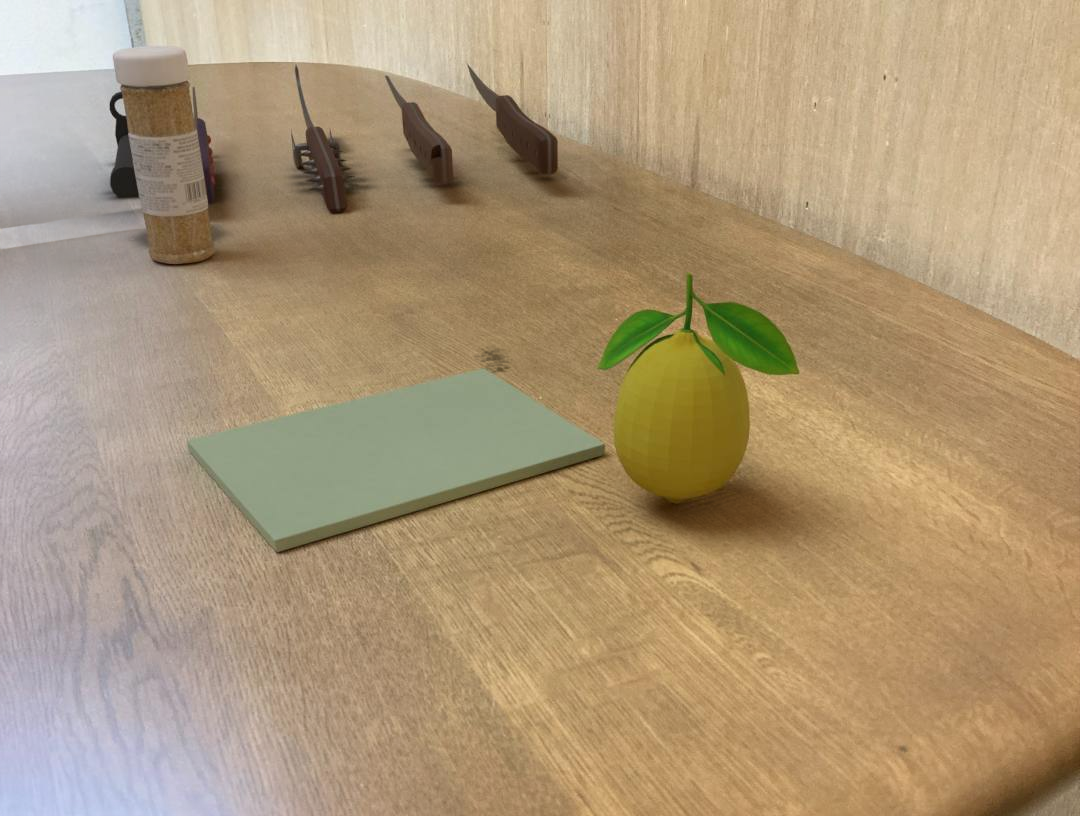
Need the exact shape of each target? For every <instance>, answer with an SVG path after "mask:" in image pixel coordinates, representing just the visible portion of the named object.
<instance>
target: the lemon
mask: <svg viewBox="0 0 1080 816" xmlns="http://www.w3.org/2000/svg"><path fill="white" fill-rule="evenodd" d="M693 281H694V277H693V275H692V274H691V273H686V303H685V305H686V306H685V309H684V310H683V311H682V312H680V313H677V314H675V315H674V314H671V313H667V312H663V311H659V310H656V309H642V310H639V311H636V312H634V313H632V314H630V315H629V316H628V317H627V318H626V319H625V320H624V321H623V322H622V323H621V324H619V325H618V327H617V329H616V330H615V331H614V333H613V334H612V335H611V337H610V339H609V341H608V343H607V344H606V347H605V349H604V351H603V354H602V356H601V359H600V361H599V363H598V366H597V369H598V370H604V371H605V370H609V369H611V368H613V367H616V366H617V365H619V364H620V363H622V362H624V361H625V360H626V359H627V358H629V357H631V356H632V355H633V354H634V353H636V352H637V351H639V350H641V348H643V347H644V346H645V347H644V348H643V349H642V350H641V351H640V352H639V353H638V354H637V356H636V357H635V359H634V360H633V361H632V363H631V364H630V366H629V368H628V369H627V371H626V373H625V375H624V377H623V379H622V383H621V385H620V388H619V392H618V396H617V401H616V408H615V413H614V421H613V441H614V442H613V444H614V447H615V453H616V456H617V458H618V460H619V462H620V464H621V466H622V468H623V470H624V471H625V473H626V474H627V476H628V477H629V478H630V480H631V481H632V482H633V483H634V484H636V485H637V486H639V487H640V488H641V489H643V490H645V491H647V492H649V493H650V494H654V495H656V496H658V497H662V498H665V500H666V501H667V502H669V503H671V504H677V505H679V504H681V503H683V502H684V501H686V500H687V499H688V500H689V499H695V498H699V497H702V496H705V495H708V494H711V493H713V492H715V491H717V490H719V489H720V488H722V487H724V486H725V485H726V484H727V483H728V482H729V481H730V480H731V479H732V477H733V476H734V475H735V473H736V471H737V470H738V468H739V466H740V465H741V463H742V462H743V458H744V457H745V453H746V451H747V447H748V443H749V438H750V430H751V429H750V427H751V422H750V419H751V418H750V404H749V403H750V402H749V395H748V390H747V385H746V382H745V378H744V377H743V374H742V372H741V370H740V368H739V366H738V364H739V365H741V366H743V367H744V368H747V369H749V370H750V369H751V370H752V371H756V372H758V373H762V374H765V375H768V376H769V375H770V376H771V375H772V376H785V375H800V370H799V368H798V363H797V360H796V356H795V354H794V352H793V350H792V347H791V346H790V343H789V342H788V340H787V338H786V336H785V335H784V334H783V333H782V331H781V329H780V328H778V326H777V325H776V324H775V323H773V321H771V320H770V319H769V318H768V317H767V316H766V315H765V314H763V312H761V311H758V310H756V309H754V308H752V307H750V306H748V305H745V304H742V303H738V302H733V301H725V302H712V303H711V302H709V303H708V302H704V301H703V300H701V299H700V298H699V297H698V296H697V295H696V293H695V292H694V289H693V288H694V287H693ZM694 300H695V301H696V302H697V303H698V304H699V305H700V306H701V307H702V310H703V314H704V317H705V322H706V326H707V329H708V333H709V334H710V336H711V338H708V337H705V336H702V335H700V334H699V333H698V331H697V330H695V329H693V328H691V324H692V316H693V301H694ZM683 316H685V318H684V324H683V327H681V328H679V329H677V330H676V332H675V333H672V334H667V335H663V336H660V337H658V336H659V335H660V334H661V333H662V332H664V331H665V330H666V329H667V328H668V327H670V325H671V324H672V323H673V322H675V321H677V320H678V319H680V318H681V317H683ZM656 337H657V338H656ZM651 341H652V342H651ZM647 344H648V345H647Z"/></svg>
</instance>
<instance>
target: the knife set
mask: <svg viewBox="0 0 1080 816" xmlns="http://www.w3.org/2000/svg"><path fill="white" fill-rule="evenodd" d="M466 65H467V68H468V72H469V75H470V77H471V80H472V82H473V84H474V86H475V89H476V90H477V91H478V93H479V95H480V96H481V98H482V99H483V100H484V102H485V103H486V104H487V106H488V107H489V108H490V109H492V111H494V112H495V120H496V121H495V124H496V128H497V130H498V131H499V132H500V134H501V135H502V137H503V139H504V140H505V142H506V144H507V145H508V146H509V147H510V148H511V149H512V150H513V151H514V152H515V153H516V154H518V155H519V156H520V158H522V159H524V160H526V161H527V162H528V163H529V164H530V165H532V166H533V167H534V168H535V169H536V170H537V171H538V172H539V173H540V174H542V175H544V176H549V175H554V174H555V173H557V171H558V169H559V141H558V138H557V137H556V136H555V135H554V134H553V133H552V132H551V131H550V130H548V129H547V128H546V127H544V126H542V125H540V124H539V123H537V122H535V121H534V120H532V119H531V118H530V117H529V116H528V115H527V114H525V113H524V112H523V110H522V109H521V108H520V106H519V105H518V104H517V102H516V100H515V99H514V98H513V97H512V96H511V95H508V94H506V95H505V94H504V95H499V94H498V93H496V92H495V91H494V90H492V89H491V88H490V87H489V86H487V85H486V84H485V83H484V82H483V80H482V79H480V78H479V76H478V75H477V74H476V73H475V71H474V70H473V69H472V67H471V66H470V65H469V64H468V63H466ZM294 66H295V67H294V75H295V80H296V87H297V93H298V95H299V96H298V97H299V101H300V106H301V109H302V110H301V111H302V115H303V118H304V122H305V126H306V130H305V139H306V141H305V142H303V143H298V144H296V143H295V139H294V136H293V132H292V130H290V132H291V133H290V137H291V138H290V139H291V146H292V147H291V148H292V160H293V163H294V165H295V167H296V168H298V169H299V168H301V167H302V166H307V167H311V169H309V170H306V171H303V172H302V174H306V175H313V176H314V177H312V178H308V179H306V180H305V182H308V183H309V182H310V183H316V184H317V185H316V186H313V187H311V188H307V190H308V191H313V192H314V191H315V192H319V193H321V195H322V198H323V202H324V203H325V206H326V208H327V210H328V211H329V212H330V213H333V214H335V213H343V212H345V211H346V210H347V209H348V205H349V204H348V199H347V192H346V191H347V190H350V189H353V188H355V187H358V186H359V184H356V183H350V182H349V183H348V182H345V181H347V180H349V179H352V178H355V177H356V176H355V175H349V174H343V173H344V172H346V171H350V170H352V168H350V167H343V166H340V165H339V164H340V163H343V162H347V159H343V158H341V153H342V152H343V150H341V146H340V144H339V143H338V142H337V141H335V140H333V136H332V131H331V129H329V140H328V137H327V135H326V133H325V130H324V129H323V128H322V127H320V126H314V124H313V121H312V119H311V117H310V114H309V111H308V108H307V105H306V101H305V97H304V94H303V89H302V85H301V79H300V72H299V68H298V66H297V64H295V65H294ZM384 78H385V80H386V82H387V85H388V87H389V89H390V91H391V93H392V96H393V98H394V99H395V102H396V103H397V105H398V107H399V109H401V123H402V134H403V135H404V138H405V140H406V142H407V145H408V147H409V149H410V151H411V152H412V155H413V156H414V157H415V158H416V160H417V161H418V162H419V164H420V165H421V166H422V167H423V168H424V169H425V170H426V171H427V172H428V173H429V175H430V176H431V177H432V179H433V180H434V182H435V183H436V184H438V185H448V184H450V183H451V182H453V180H454V166H453V165H454V164H453V149H452V147H451V146H450V145H449V143H448V141H447V140H446V139H445V138H444V137H443V136H442V135H441V134H440V133H438V131H436V130H435V129H434V128H433V126H432V125H431V124H430V123H429V122H428V121H427V119H426V117H425V115H424V113H423V112H422V110H421V108H420V106H419V104H418V103H417V102H415V101H412V102H411V101H410V102H409V101H408V102H407V101H406V99H404V98H403V97H404V96H402V95H401V94H400V92H399V91H398V90H397V88H396V86H395V85H394V83H393V82H392V80H391V78H390V77H389V75H384ZM191 89H192V108H193V116H194V122H195V128H196V129H197V134H198V140H199V147H200V153H201V160H202V166H203V173H204V179H205V186H206V193H207V200H208V206H210V205H212V204H213V203H214V201H215V190H214V186H215V185H216V179H215V177H214V176H215V166H214V158H213V153H214V151H213V149H212V148H211V147H210V144H211V142H212V137H211V136H210V135H209V134H208V130H207V125H206V121H204V119H202V118H201V117H199V114H198V113H199V112H198V105H197V104H198V103H197V96H196V88H195V86H192V88H191ZM119 100H123V96H122V91H121V90H120V91H118V92H115V93H114V94H113V95H112V96H111V98H110V100H109V112H110V114H111V116H112V117H113V118H114V119H115V132H114V135H115V141H116V145H117V148H116V149H117V150H116V155H115V162H114V167H113V168H112V170H111V172H110V177H109V185H110V188H111V190H112V193H113V194H115V196H116V197H117V198H119V199H121V198H122V199H123V198H138V197H139V192H138V187H137V181H136V176H135V170H134V164H133V158H132V152H131V147H130V141H129V135H128V133H129V131H128V124H127V119H126V115H123V114H121V113H119V111H117V109H116V102H118V101H119ZM303 151H304V152H303ZM302 157H307V158H308V159H309V160H307V161H305V162H303V158H302Z"/></svg>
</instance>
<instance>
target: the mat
mask: <svg viewBox="0 0 1080 816" xmlns="http://www.w3.org/2000/svg"><path fill="white" fill-rule="evenodd" d="M186 444H187V450H188V452H189V453H190V455H192V456H193V457H194V458H195V460H196V461H197V462H198V463H199V464H200V466H201V467H202V468H203V470H205V471H206V473H207V474H208V475H209V476H210V477H211V478H212V480H213V481H214V482H215V483H216V484H217V485H218V486H219V487H220V489H221V490H222V491H223V492H224V493H225V495H226V496H227V497H228V498H229V499H230V500H231V501H232V503H233V504H234V505H235V506H236V507H237V508H238V509H239V511H240V512H241V513H242V515H244V517H245V518H246V519H247V520H248V521H249V522H250V524H251V525H252V526H253V527H254V528H255V529H256V530H257V531H258V533H259V534H260V535H261V536H262V538H263V539H264V540H265V541H266V542H267V543H268V544H269V545H270V546H271V547H272V549H273V551H275V552H276V553H280V552H283V551H287V550H289V549H294V548H296V547H300V546H304V545H307V544H310V543H314V542H316V541H321V540H324V539H327V538H330V537H333V536H337V535H340V534H341V535H342V534H344V533H347V532H351V531H354V530H357V529H360V528H364V527H367V526H370V525H373V524H377V523H380V522H384V521H387V520H391V519H394V518H397V517H402V516H404V515H407V514H411V513H415V512H418V511H421V510H425V509H427V508H430V507H434V506H437V505H441V504H444V503H447V502H451V501H454V500H458V499H461V498H465V497H468V496H470V495H475V494H478V493H481V492H484V491H489V490H491V489H494V488H497V487H501V486H505V485H508V484H511V483H515V482H518V481H522V480H525V479H529V478H532V477H535V476H539V475H541V474H546V473H548V472H551V471H555V470H558V469H561V468H565V467H569V466H573V465H575V464H579V463H582V462H586V461H589V460H592V459H595V458H598V457H602V456H604V455H605V453H606V444H605V442H603V441H601V440H599V439H598V438H597V437H595V436H594V435H591V434H590V433H589V432H587V431H586V430H584V429H582V428H581V427H579V426H577V425H576V424H574V423H573V422H571V421H569V420H567V419H566V418H565V417H563V416H561V415H560V414H558V413H557V412H555V411H553V410H552V409H550V408H549V407H547V406H545V405H544V404H542V403H540V402H539V401H538V400H536V399H534V398H533V397H531V396H529V395H528V394H527V393H525V392H523V391H522V390H519V389H518V388H516V387H515V386H513V385H512V384H510V383H508V382H507V381H505V380H503V378H500V377H499V376H498V375H497V374H494V373H493V372H491V371H489V370H487V369H486V368H479V369H475V370H470V371H467V372H462V373H459V374H454V375H451V376H446V377H442V378H436V379H433V380H429V381H425V382H421V383H417V384H412V385H409V386H405V387H400V388H395V389H392V390H391V389H390V390H387V391H384V392H378V393H375V394H371V395H367V396H362V397H359V398H353V399H350V400H347V401H341V402H338V403H334V404H330V405H325V406H321V407H317V408H312V409H309V410H305V411H299V412H295V413H292V414H288V415H287V414H286V415H284V416H280V417H279V416H278V417H275V418H271V419H267V420H262V421H259V422H254V423H250V424H246V425H242V426H238V427H234V428H229V429H225V430H222V431H217V432H213V433H209V434H205V435H200V436H196V437H191V438H188V439H186Z"/></svg>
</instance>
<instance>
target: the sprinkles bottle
mask: <svg viewBox="0 0 1080 816" xmlns="http://www.w3.org/2000/svg"><path fill="white" fill-rule="evenodd" d="M112 62H113V68H114V75H115V80H116V82H117V83H118V84H120V88H119V89H120V92H121V91H122V96H123V99H122V100H123V106H124V114H125V116H126V119H127V124H128V131H129V133H128V135H129V141H130V147H131V152H132V158H133V164H134V170H135V176H136V181H137V187H138V192H139V203H140V207H141V211H142V212H143V218H144V224H145V230H146V233H147V234H146V235H147V241H148V246H149V248H148V254H149V257H150V258H151V259H152V260H153V261H156V262H159V263H163V264H166V265H167V264H169V265H181V264H191V263H197V262H203V261H204V260H208V259H209V258H210V257H212V256H213V255H214V254H215V253H216V245H215V243H214V242H213V241H214V240H213V236H212V229H211V223H210V217H209V211H208V210H209V209H208V208H209V205H208V200H207V193H206V186H205V179H204V173H203V166H202V160H201V153H200V147H199V140H198V134H197V129H196V128H195V122H194V111H193V103H192V99H191V94H190V86H191V82H190V81H189V80H190V79H191V73H190V67H189V62H188V55H187V52H186V50H185V49H184V48H182V47H179V46H173V45H143V46H142V45H141V46H133V47H127V48H122V49H118V50H116V51H114V52H113V54H112Z"/></svg>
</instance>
